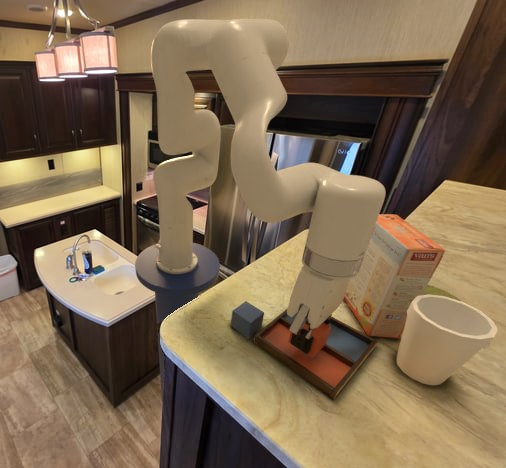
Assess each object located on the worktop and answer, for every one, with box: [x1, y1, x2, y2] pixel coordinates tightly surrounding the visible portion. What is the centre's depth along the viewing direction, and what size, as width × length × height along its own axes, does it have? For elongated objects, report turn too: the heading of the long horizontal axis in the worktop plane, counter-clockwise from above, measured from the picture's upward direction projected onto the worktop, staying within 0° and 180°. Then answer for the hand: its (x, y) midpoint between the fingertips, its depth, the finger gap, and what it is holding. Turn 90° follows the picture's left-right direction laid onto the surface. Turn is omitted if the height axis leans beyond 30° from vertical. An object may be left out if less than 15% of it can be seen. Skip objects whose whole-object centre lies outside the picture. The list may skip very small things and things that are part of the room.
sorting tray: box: [253, 307, 378, 400], centre depth 56 cm, size 15×16×2 cm
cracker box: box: [343, 213, 447, 340], centre depth 58 cm, size 14×6×21 cm, turn 170°
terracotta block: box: [288, 323, 331, 358], centre depth 52 cm, size 4×4×4 cm
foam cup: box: [395, 294, 499, 386], centre depth 48 cm, size 10×9×13 cm
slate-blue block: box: [230, 300, 265, 339], centre depth 61 cm, size 4×4×4 cm
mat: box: [423, 284, 461, 301], centre depth 63 cm, size 11×11×2 cm
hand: (307, 339), depth 53 cm, fingers closed on terracotta block, 4 cm apart
